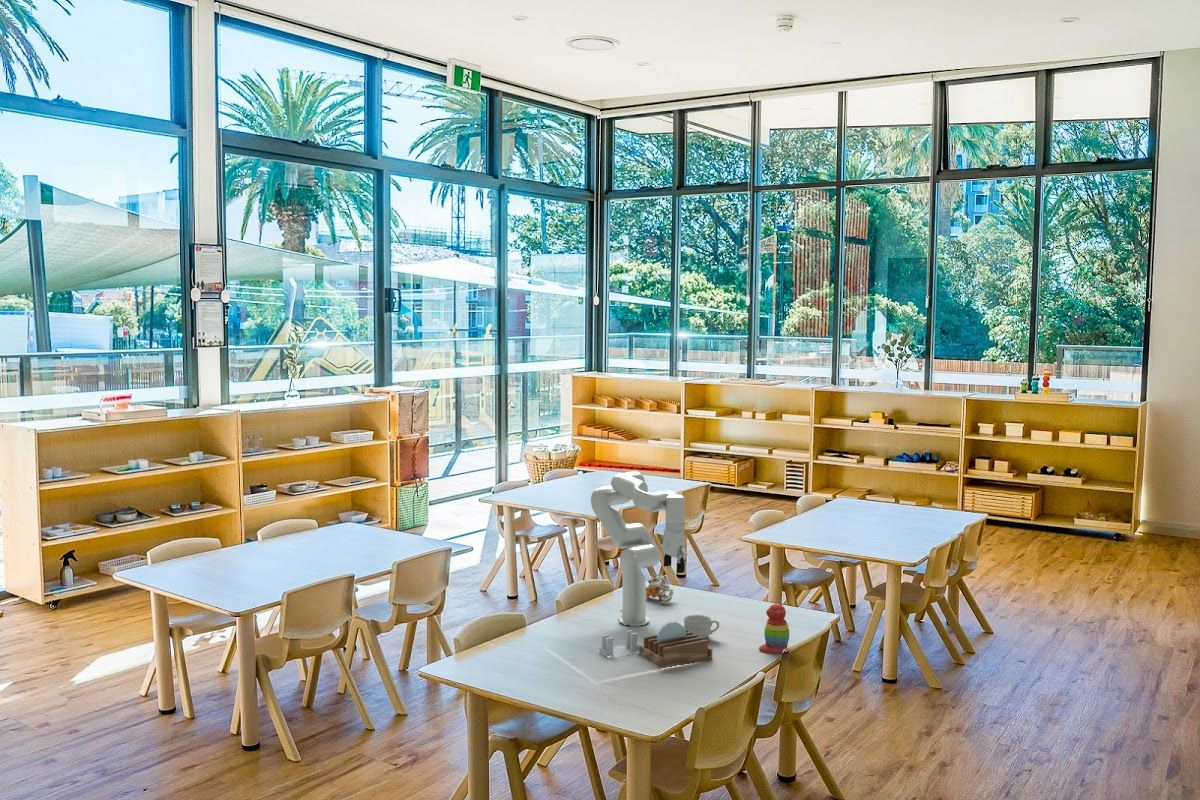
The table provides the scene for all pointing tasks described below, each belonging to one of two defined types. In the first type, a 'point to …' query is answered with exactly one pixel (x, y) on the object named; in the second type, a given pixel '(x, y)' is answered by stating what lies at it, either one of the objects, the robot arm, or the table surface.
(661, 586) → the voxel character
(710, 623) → the teacup
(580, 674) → the table surface
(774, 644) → the stacking bear
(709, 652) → the rack
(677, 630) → the plate
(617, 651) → the holder
